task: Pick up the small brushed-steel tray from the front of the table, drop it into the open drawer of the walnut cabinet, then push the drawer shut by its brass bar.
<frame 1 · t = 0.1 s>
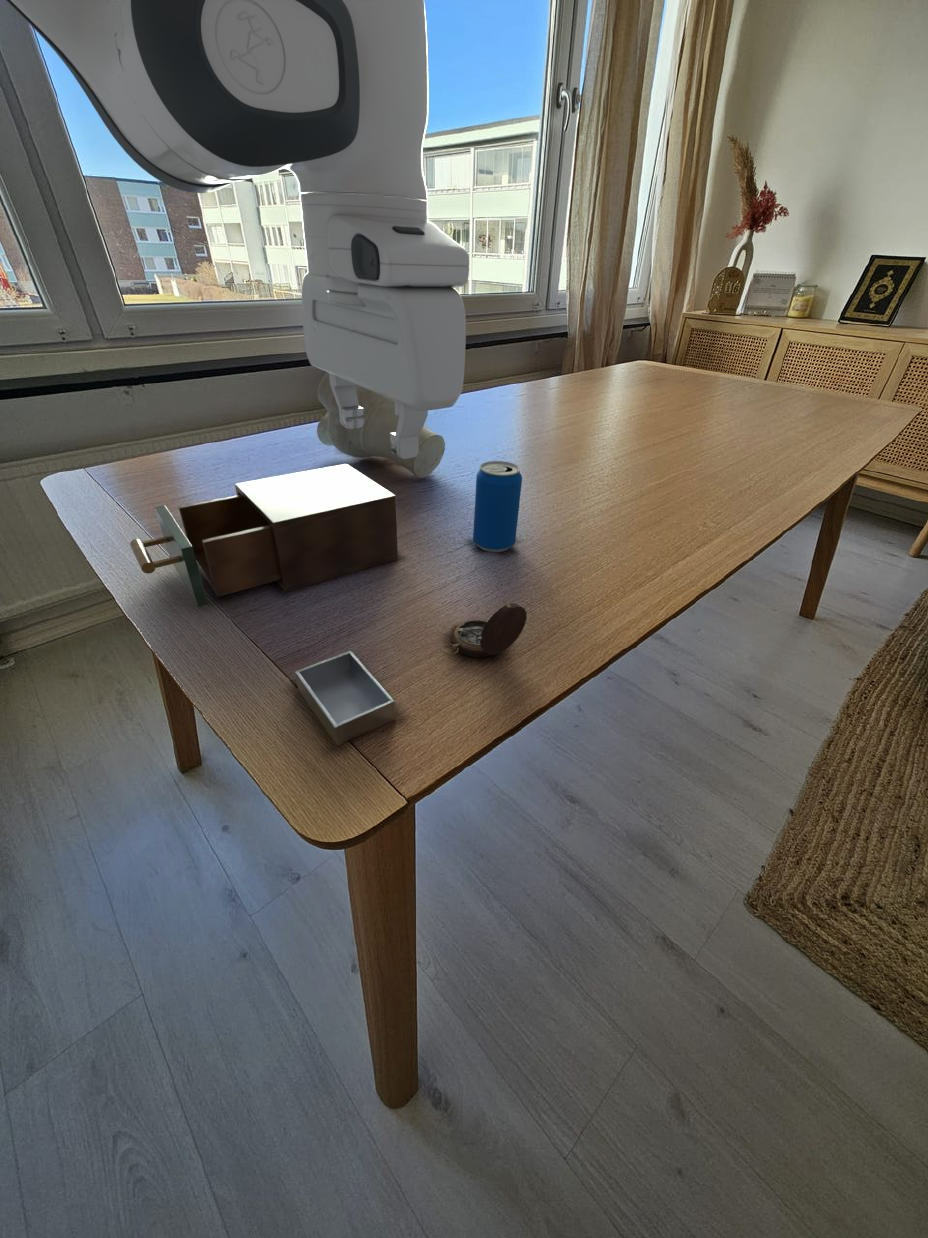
hand: (377, 440, 47), 23 cm above the table, tool pointing down, fingers open, 8 cm apart
compass: (475, 650, 60), on the table
cabinet: (322, 553, 77), on the table
tray: (345, 704, 52), on the table
beverage can: (493, 545, 82), on the table
drawer: (223, 544, 68), point 5 cm above the table, slide at 9.0 cm
vase: (387, 468, 108), on the table
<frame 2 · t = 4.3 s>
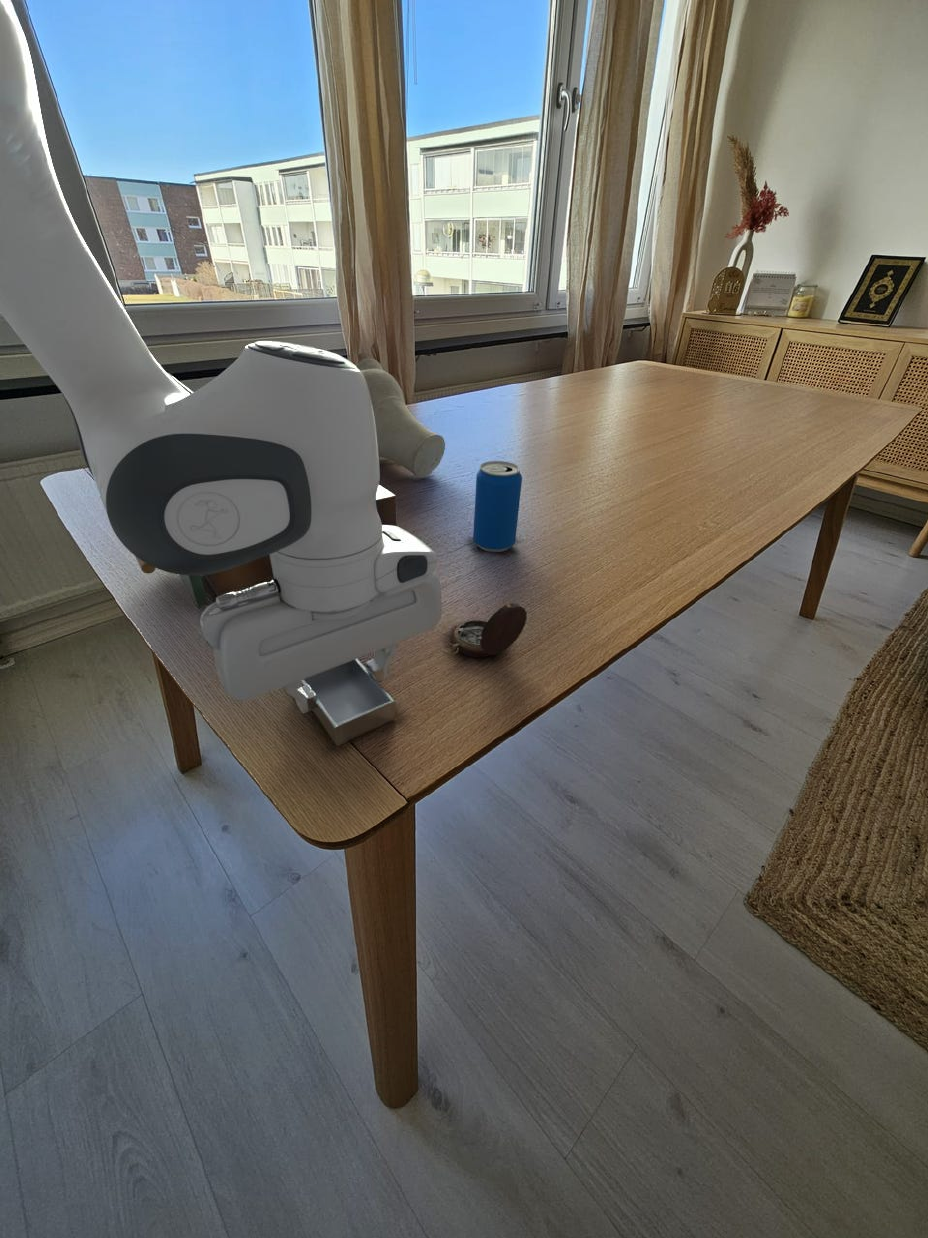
hand: (344, 691, 51), 2 cm above the table, tool pointing down, fingers closed on tray, 6 cm apart
tray: (345, 704, 52), on the table, touching gripper
everything else where it was.
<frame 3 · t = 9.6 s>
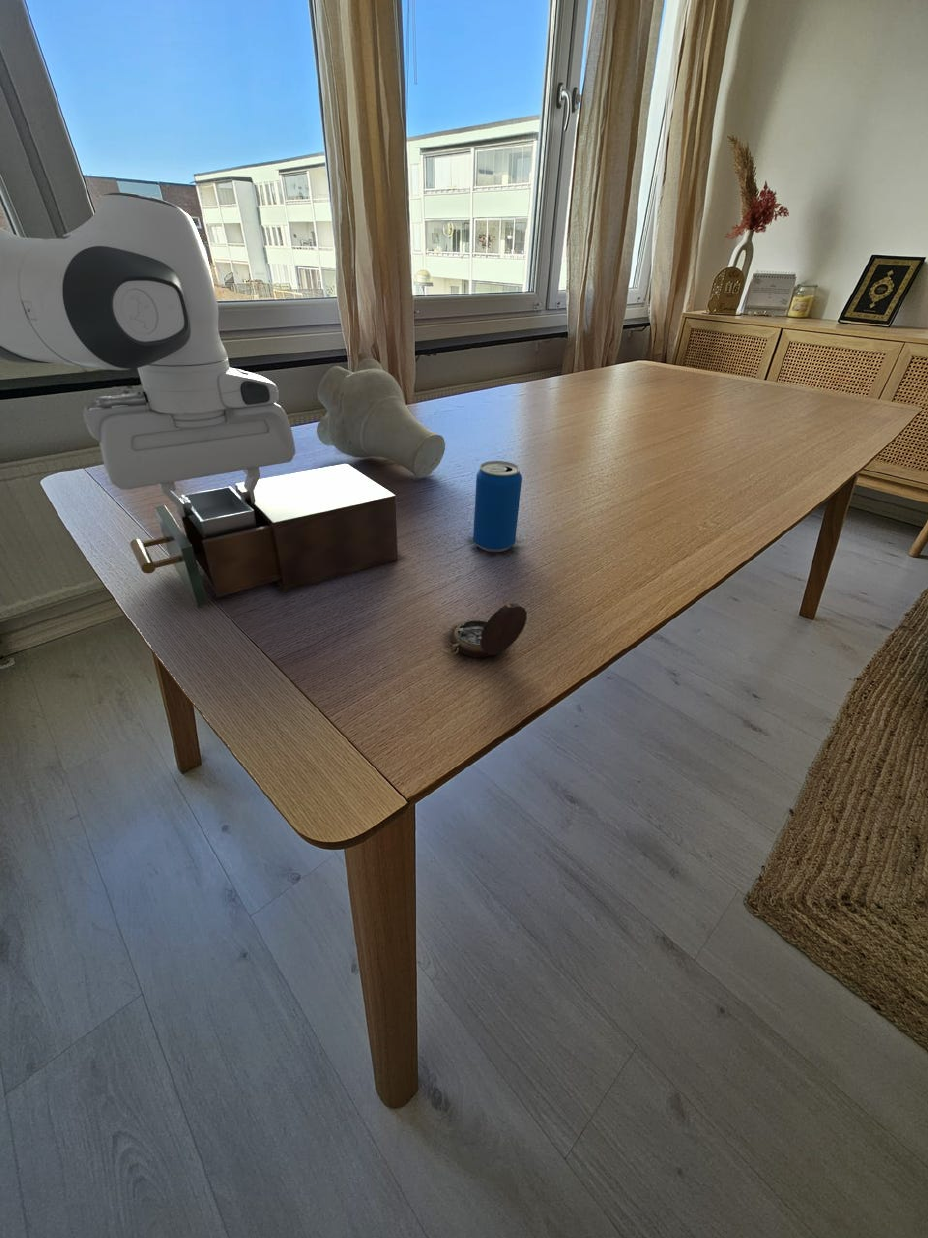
hand: (218, 508, 65), 10 cm above the table, tool pointing down, fingers closed on tray, 6 cm apart
tray: (220, 520, 66), point 8 cm above the table, touching gripper
everything else where it was.
when the fingers open (10 cm above the table, at t = 14.3 s): tray drops 6 cm, resting on drawer.
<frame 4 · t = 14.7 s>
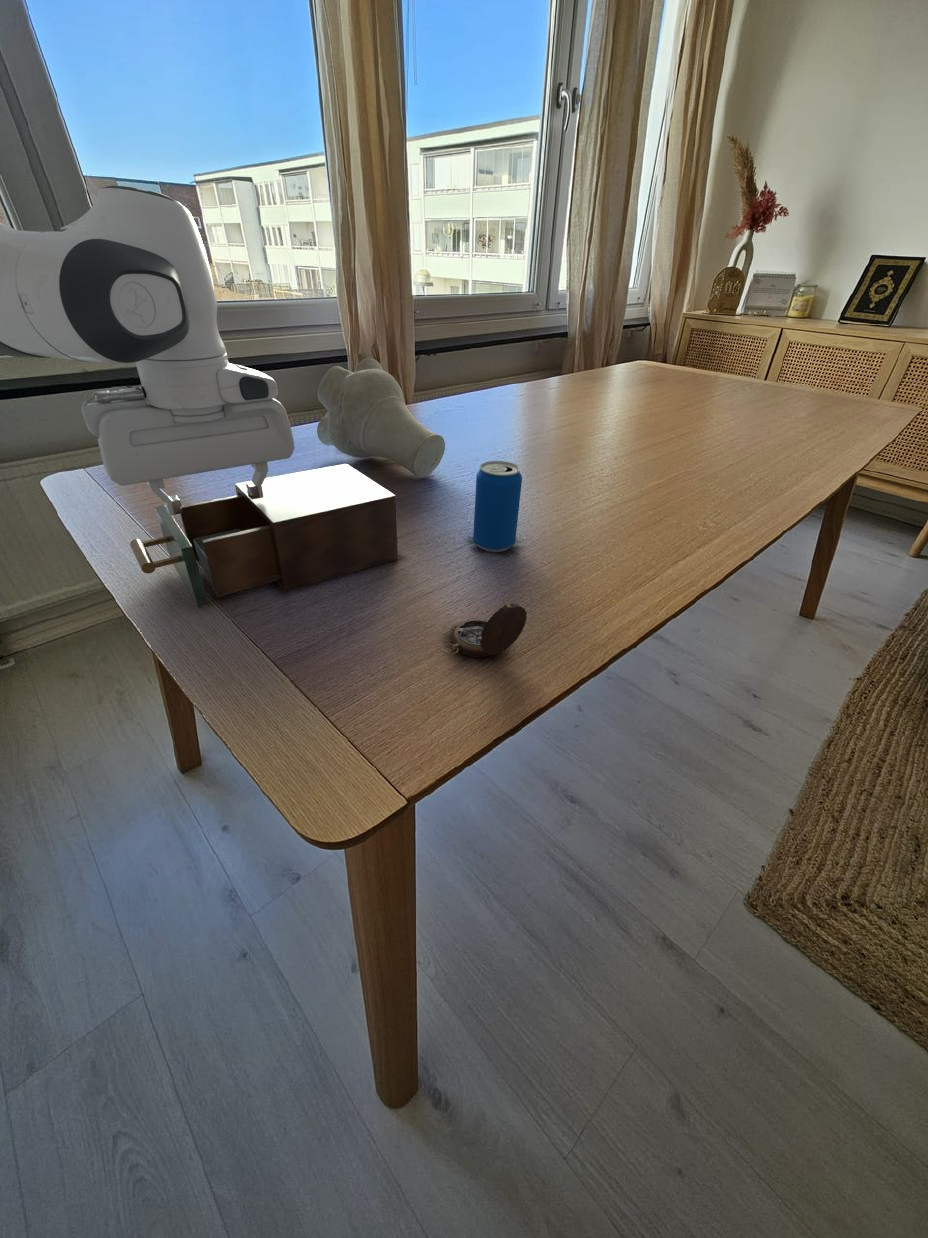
hand: (217, 504, 65), 10 cm above the table, tool pointing down, fingers open, 8 cm apart
tray: (230, 563, 70), point 2 cm above the table, touching drawer
drawer: (223, 544, 68), point 5 cm above the table, slide at 9.0 cm, touching tray
everything else where it was.
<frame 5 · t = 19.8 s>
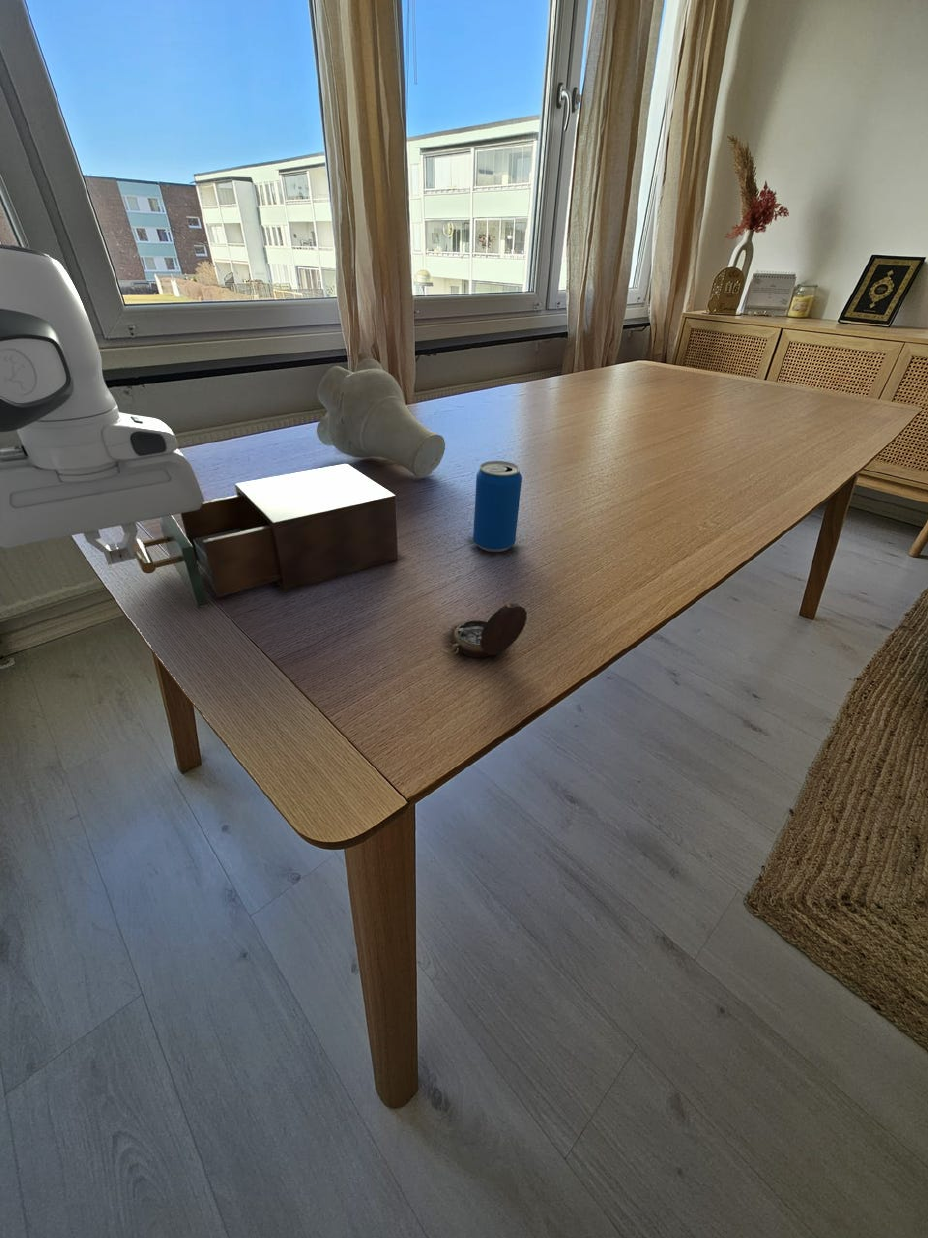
hand: (121, 559, 62), 6 cm above the table, tool pointing down, fingers closed
drawer: (224, 544, 68), point 5 cm above the table, slide at 9.0 cm, touching gripper, tray
everything else where it was.
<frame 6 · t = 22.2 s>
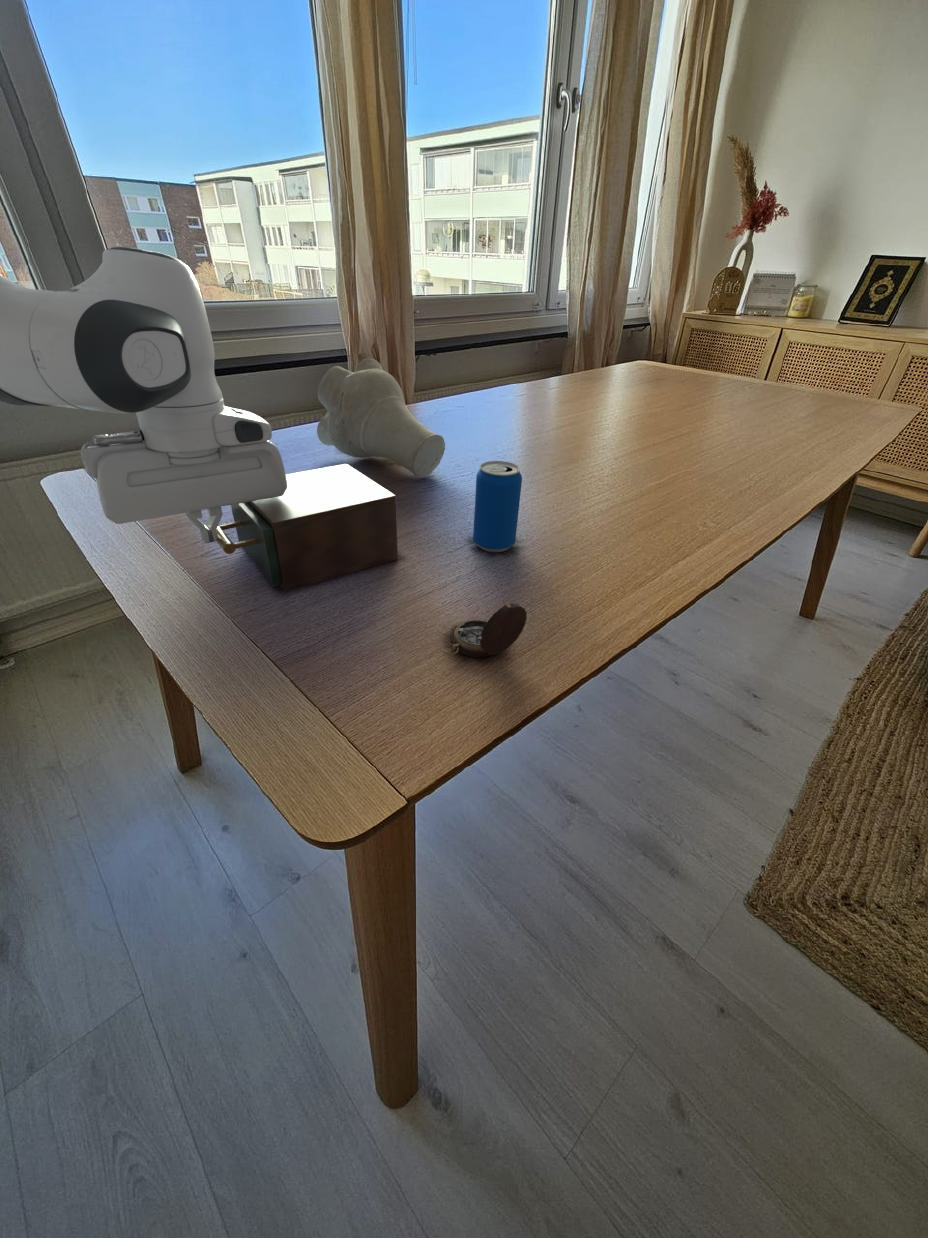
hand: (210, 540, 67), 6 cm above the table, tool pointing down, fingers closed, pressing on drawer
tray: (297, 546, 74), point 2 cm above the table, touching drawer
drawer: (292, 528, 73), point 5 cm above the table, slide at 0.0 cm, touching cabinet, gripper, tray
everything else where it was.
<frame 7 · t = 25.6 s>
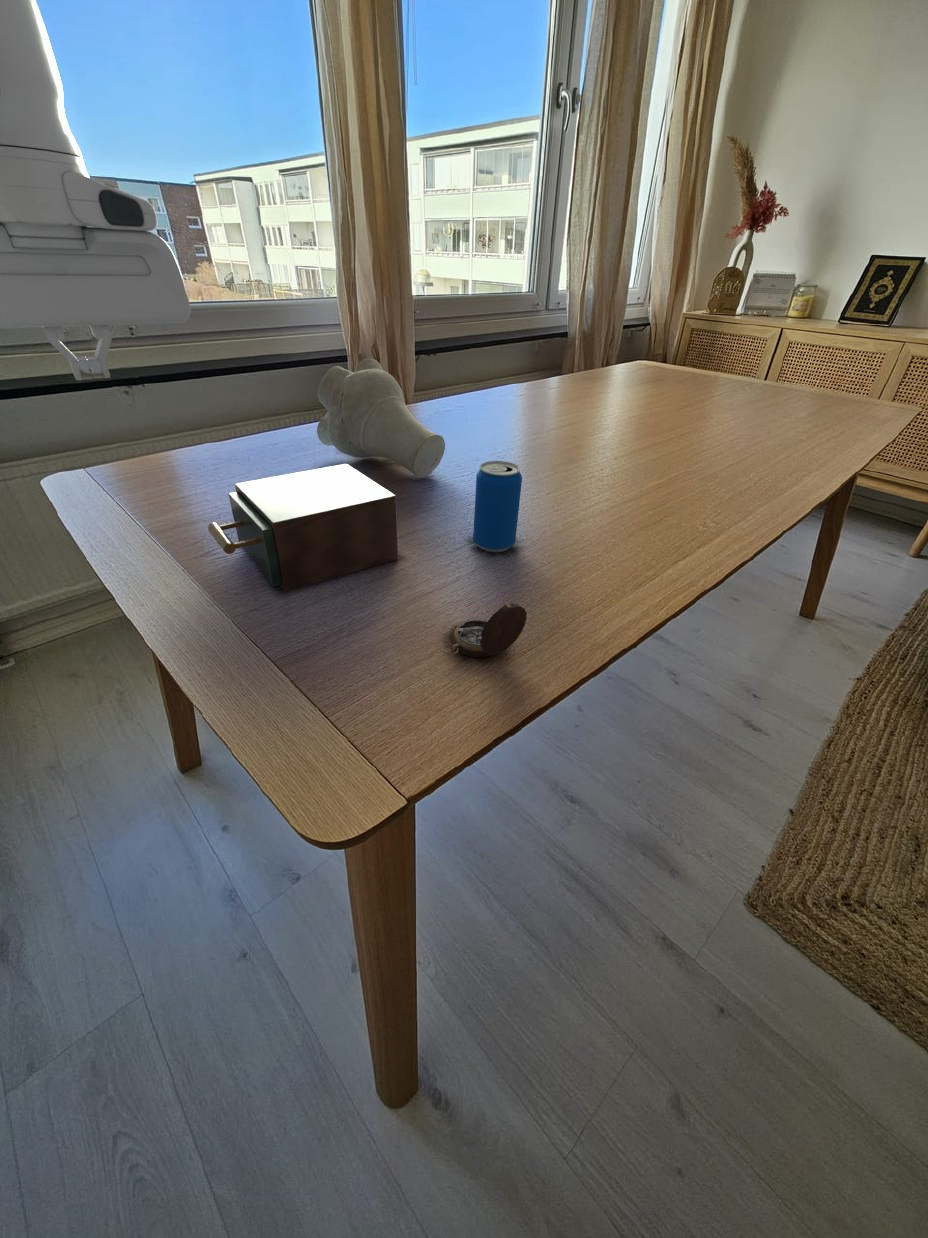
hand: (93, 378, 52), 25 cm above the table, tool pointing down, fingers closed
drawer: (292, 528, 73), point 5 cm above the table, slide at 0.0 cm, touching tray
everything else where it was.
at the end: tray inside the target area in the cabinet (3.4 cm from its centre), point 2.0 cm above the cabinet's base; drawer slide at 0.0 cm; tray tilted 0° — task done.
